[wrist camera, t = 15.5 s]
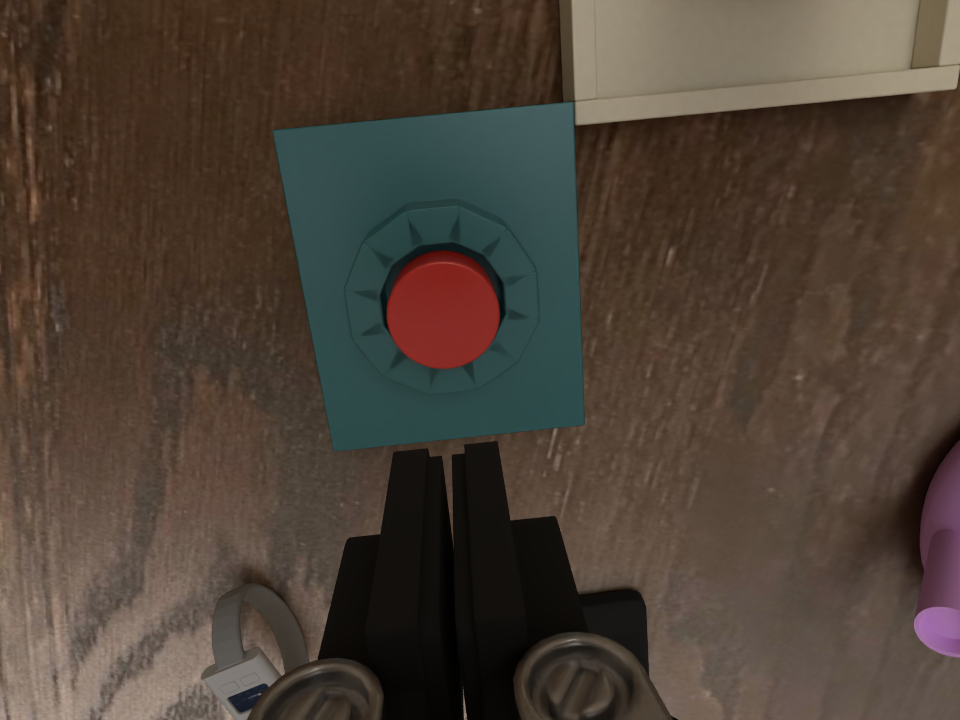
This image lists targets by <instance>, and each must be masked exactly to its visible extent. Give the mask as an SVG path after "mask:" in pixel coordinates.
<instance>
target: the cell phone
mask: <svg viewBox="0 0 960 720" xmlns="http://www.w3.org/2000/svg"><path fill="white" fill-rule="evenodd" d="M579 599H580V603H581V606H582V610H583V614H584V617H585V621H586V624H587V628H588V631H589V633H592V634H598V635H601V636H604V637H606V638H609V639H612V640H614V641H616V642H618V643H619V644H621V645H622V646H624V647H625V648H626V649H628V650H629V651H631V652H632V653H633V655H634V656H635V657H636V658H637V660H638V661H639V662H640V663H641V665H642V666H643V667H644V669H645V671H646V673H647V674H648V676H649V664H648V640H647V617H646V605H645V603H644V600H643V598H642V596H641V594H640V593H639V592H638V591H634V590H621V591H614V592H607V593H600V594H592V595H585V596H579Z"/></svg>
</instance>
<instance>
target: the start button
mask: <svg viewBox="0 0 960 720" xmlns="http://www.w3.org/2000/svg"><path fill="white" fill-rule="evenodd" d="M499 320H500V309H499V303H498V299H497V296H496V293H495V289H494V286H493V283H492V281H491V279H490V277H489V276H488V274H487V272H486V271H485V270H484V269H483V268H482V266H480V265H479V264H478V263H477V262H476V261H474V260H473V259H472V258H470V257H468V256H466V255H464V254H461V253H458V252H454V251H446V250H440V251H432V252H428V253H425V254H422V255H420V256H418V257H416V258H414V259H413V260H411V261H410V262H409V263H408V264H406V265H405V266H404V268H403V269H402V270H401V271H400V273H399V274H398V275H397V277H396V279H395V281H394V284H393V287H392V290H391V293H390V297H389V300H388V305H387V324H388V328H389V331H390V334H391V336H392V338H393V340H394V342H395V343H396V345H397V346H398V348H399V349H400V350H401V351H402V352H403V353H404V354H405V355H406V356H408V357H409V358H410V359H412V360H413V361H415V362H417V363H419V364H421V365H424V366H427V367H431V368H438V369H450V368H456V367H459V366H463V365H465V364H468V363H470V362H472V361H473V360H475V359H477V358H478V357H479V356H480V355H482V354H483V353H484V352H485V351H486V350H487V348H488V347H489V346H490V345H491V343H492V341H493V340H494V338H495V335H496V333H497V330H498V326H499Z"/></svg>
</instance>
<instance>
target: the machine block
mask: <svg viewBox="0 0 960 720" xmlns="http://www.w3.org/2000/svg"><path fill="white" fill-rule="evenodd" d="M272 132H273V138H274V143H275V148H276V153H277V159H278V164H279V169H280V174H281V179H282V185H283V190H284V195H285V200H286V206H287V211H288V216H289V221H290V226H291V232H292V237H293V242H294V247H295V253H296V258H297V263H298V268H299V274H300V279H301V284H302V289H303V294H304V300H305V305H306V310H307V315H308V321H309V326H310V331H311V336H312V341H313V347H314V352H315V357H316V362H317V368H318V373H319V378H320V383H321V388H322V394H323V399H324V404H325V409H326V415H327V420H328V425H329V430H330V435H331V441H332V446H333V450H334V451H343V450H352V449H362V448H371V447H381V446H390V445H400V444H409V443H419V442H428V441H438V440H447V439H457V438H466V437H475V436H485V435H494V434H504V433H513V432H523V431H532V430H542V429H551V428H561V427H570V426H580V425H584V424H585V415H584V386H583V358H582V329H581V301H580V272H579V243H578V215H577V186H576V158H575V129H574V103H573V102H561V103H551V104H540V105H530V106H519V107H509V108H498V109H488V110H477V111H467V112H456V113H446V114H435V115H425V116H414V117H404V118H393V119H383V120H372V121H361V122H351V123H340V124H330V125H319V126H309V127H298V128H288V129H277V130H273V131H272ZM440 250H446V251H454V252H458V253H461V254H464V255H466V256H468V257H470V258H472V259H473V260H474V261H476V262H477V263H478V264H479V265H480V266H482V268H483V269H484V270H485V271H486V272H487V274H488V276H489V277H490V279H491V281H492V283H493V286H494V289H495V293H496V296H497V299H498V303H499V309H500V320H499V326H498V330H497V333H496V335H495V338H494V340H493V341H492V343H491V345H490V346H489V347H488V348H487V350H486V351H485V352H484V353H483V354H482V355H480V356H479V357H478V358H477V359H475V360H473V361H472V362H470V363H468V364H465V365H463V366H459V367H456V368H450V369H438V368H431V367H427V366H424V365H421V364H419V363H417V362H415V361H413V360H412V359H410V358H409V357H408V356H406V355H405V354H404V353H403V352H402V351H401V350H400V349H399V348H398V346H397V345H396V343H395V342H394V340H393V338H392V336H391V334H390V331H389V328H388V324H387V305H388V300H389V297H390V293H391V290H392V287H393V284H394V281H395V279H396V277H397V275H398V274H399V273H400V271H401V270H402V269H403V268H404V266H405V265H406V264H408V263H409V262H410V261H411V260H413V259H414V258H416V257H418V256H420V255H422V254H425V253H428V252H432V251H440Z"/></svg>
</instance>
